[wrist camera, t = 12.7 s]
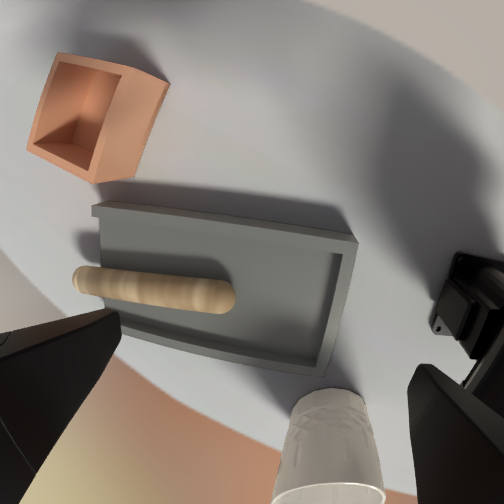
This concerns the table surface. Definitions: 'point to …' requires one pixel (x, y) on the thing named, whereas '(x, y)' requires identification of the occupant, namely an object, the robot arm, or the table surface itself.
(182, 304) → the birch dowel
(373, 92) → the table surface
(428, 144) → the table surface
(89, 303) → the table surface
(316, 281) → the slate tray
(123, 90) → the terracotta box
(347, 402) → the white cup
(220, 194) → the table surface
